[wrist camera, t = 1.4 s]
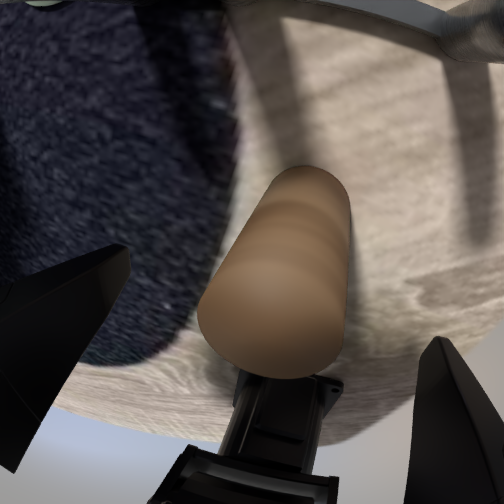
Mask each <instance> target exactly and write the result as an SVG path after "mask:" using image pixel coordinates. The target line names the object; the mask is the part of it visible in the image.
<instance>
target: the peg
mask: <svg viewBox="0 0 504 504" xmlns="http://www.w3.org/2000/svg"><path fill="white" fill-rule="evenodd" d="M349 240H350V202H349V197H348V194H347V192H346V190H345V188H344V186H343V185H342V184H341V182H340V181H339V180H338V179H337V178H336V177H334V176H333V175H332V174H330V173H329V172H327V171H325V170H323V169H320V168H317V167H312V166H298V167H293V168H290V169H287V170H285V171H283V172H282V173H280V174H279V175H278V176H277V177H276V178H275V179H274V180H273V181H272V182H271V184H270V185H269V187H268V189H267V190H266V192H265V193H264V195H263V197H262V198H261V200H260V202H259V203H258V205H257V206H256V208H255V210H254V211H253V213H252V215H251V216H250V218H249V220H248V221H247V223H246V224H245V226H244V228H243V229H242V231H241V233H240V234H239V236H238V238H237V239H236V241H235V242H234V244H233V246H232V247H231V249H230V251H229V252H228V254H227V256H226V257H225V259H224V261H223V262H222V264H221V266H220V267H219V269H218V271H217V272H216V274H215V276H214V277H213V279H212V281H211V282H210V284H209V286H208V287H207V289H206V291H205V292H204V294H203V296H202V298H201V299H200V302H199V305H198V310H197V319H198V324H199V327H200V330H201V332H202V334H203V336H204V338H205V339H206V341H207V342H208V343H209V345H210V346H211V347H212V348H213V349H214V350H215V351H216V352H217V353H218V354H219V355H220V356H222V357H223V358H224V359H225V360H227V361H228V362H230V363H232V364H233V365H235V366H237V367H239V368H241V369H243V370H245V371H248V372H250V373H253V374H256V375H260V376H264V377H269V378H277V379H294V378H302V377H306V376H310V375H313V374H315V373H318V372H320V371H322V370H324V369H325V368H327V367H328V366H329V365H331V364H332V363H333V361H334V360H335V359H336V358H337V356H338V355H339V353H340V351H341V348H342V344H343V337H344V326H345V314H346V301H347V285H348V266H349Z"/></svg>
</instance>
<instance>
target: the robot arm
mask: <svg viewBox="0 0 504 504" xmlns="http://www.w3.org/2000/svg"><path fill="white" fill-rule="evenodd" d="M130 273H131V264H130V254H129V249H128V248H127V247H126V246H123V245H120V244H112V245H109V246H107V247H104V248H101V249H98V250H95V251H93V252H90V253H87V254H84V255H82V256H79V257H76V258H74V259H71V260H68V261H66V262H63V263H60V264H58V265H55V266H52V267H50V268H47V269H45V270H42V271H40V272H37V273H34V274H32V275H29V276H27V277H24V278H22V279H19V280H17V281H15V282H14V283H13V282H12V283H9V284H7V285H5V286H2V287H0V465H1V466H3V467H4V468H5V469H7V470H8V471H10V472H11V473H13V474H14V473H15V472H16V470H17V468H18V466H19V464H20V462H21V460H22V458H23V456H24V454H25V452H26V451H27V449H28V447H29V445H30V443H31V441H32V439H33V438H34V435H35V434H36V432H37V430H38V428H39V427H40V425H41V422H42V421H43V419H44V417H45V416H46V414H47V412H48V410H49V409H50V407H51V405H52V404H53V402H54V400H55V398H56V397H57V395H58V393H59V392H60V390H61V388H62V387H63V385H64V383H65V382H66V380H67V378H68V377H69V375H70V374H71V372H72V370H73V369H74V367H75V366H76V364H77V362H78V361H79V359H80V358H81V356H82V355H83V353H84V351H85V350H86V348H87V347H88V345H89V344H90V342H91V341H92V339H93V338H94V336H95V335H96V333H97V332H98V330H99V329H100V327H101V326H102V324H103V323H104V321H105V319H106V318H107V316H108V315H109V313H110V311H111V309H112V307H113V306H114V304H115V302H116V300H117V298H118V296H119V294H120V293H121V291H122V289H123V287H124V285H125V284H126V282H127V280H128V278H129V276H130ZM343 389H344V384H343V383H342V382H339V381H336V380H332V379H327V378H323V377H319V376H315V375H310V376H306V377H302V378H294V379H277V378H269V377H264V376H260V375H256V374H253V373H250V372H248V371H245V370H243V369H241V368H240V372H239V377H238V382H237V386H236V391H235V395H234V400H233V404H232V405H233V407H234V408H235V409H234V412H233V414H232V417H231V420H230V422H229V425H228V428H227V430H226V433H225V435H224V438H223V441H222V443H221V446H220V448H219V451H218V453H217V454H215V453H211V452H208V451H205V450H201V449H198V447H197V446H193V445H190V444H188V445H187V447H186V448H185V450H184V451H183V453H182V454H180V455H179V457H178V458H177V460H176V461H175V463H174V464H173V466H172V468H171V469H170V471H169V472H168V474H167V475H166V477H165V479H164V480H163V482H162V483H161V485H160V487H159V488H158V489H157V491H156V492H155V494H154V495H153V496H152V497H151V498H150V499H149V500H148V502H147V504H337V496H338V487H339V477H336V476H329V477H324V476H317V475H311V474H312V470H313V465H314V460H315V456H316V451H317V446H318V441H319V436H320V431H321V425H322V420H323V418H324V417H325V416H326V414H327V413H328V412H329V410H330V409H331V408H332V406H333V405H334V404H335V402H336V401H337V400H338V398H339V397H340V396H341V394H342V393H343ZM403 504H504V422H503V421H502V419H501V417H500V416H499V414H498V412H497V411H496V409H495V407H494V406H493V404H492V402H491V401H490V399H489V398H488V396H487V394H486V393H485V391H484V390H483V388H482V387H481V385H480V383H479V382H478V380H477V379H476V377H475V376H474V374H473V373H472V371H471V370H470V368H469V367H468V366H467V364H466V363H465V361H464V360H463V358H462V357H461V355H460V354H459V352H458V351H457V350H456V348H455V347H454V345H453V344H452V342H451V341H450V340H449V339H448V338H445V337H441V336H436V337H434V338H433V340H432V341H431V342H430V344H429V345H428V346H427V348H426V349H425V350H424V352H423V353H422V355H421V357H420V360H419V369H418V378H417V386H416V393H415V400H414V409H413V426H412V439H411V450H410V460H409V468H408V477H407V484H406V490H405V497H404V503H403Z"/></svg>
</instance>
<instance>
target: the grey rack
mask: <svg viewBox="0 0 504 504" xmlns="http://www.w3.org/2000/svg"><path fill="white" fill-rule="evenodd" d="M28 1H87V2H103V3H114V4H124V5H132V6H140V7H147V6H151V5H153V4H155V3H157V2H158V1H159V0H0V4H3V3H14V2H28ZM220 1H222V2H224V3H227V4H229V5H233V6H246V5H250V4H252V3H254V2H256V1H258V0H220ZM296 1H303V2H309V3H314V4H320V5H325V6H330V7H335V8H339V9H344V10H348V11H352V12H356V13H360V14H364V15H368V16H371V17H375V18H378V19H382V20H385V21H388V22H391V23H395V24H398V25H401V26H404V27H407V28H409V29H412V30H415V31H418V32H421V33H423V34H426V35H428V36H431V37H433V38H436V41H437V43H438V45H439V46H440V48H441V49H442V50H443V51H444V52H445V53H446V54H447V55H448V56H449V57H451V58H453V59H455V60H457V61H462V62H482V63H497V64H504V0H469V1H467V2H465V3H462V4H460V5H458V6H456V7H454V8H452V9H450V10H448V11H442V10H440V9H437V8H435V7H432V6H430V5H427V4H425V3H422V2H419V1H417V0H296Z"/></svg>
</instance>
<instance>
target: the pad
mask: <svg viewBox="0 0 504 504" xmlns="http://www.w3.org/2000/svg"><path fill="white" fill-rule="evenodd" d="M59 2H62V1H28V2H27V3H28V4H30V5H33V6H49V5H54V4H57V3H59Z"/></svg>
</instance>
